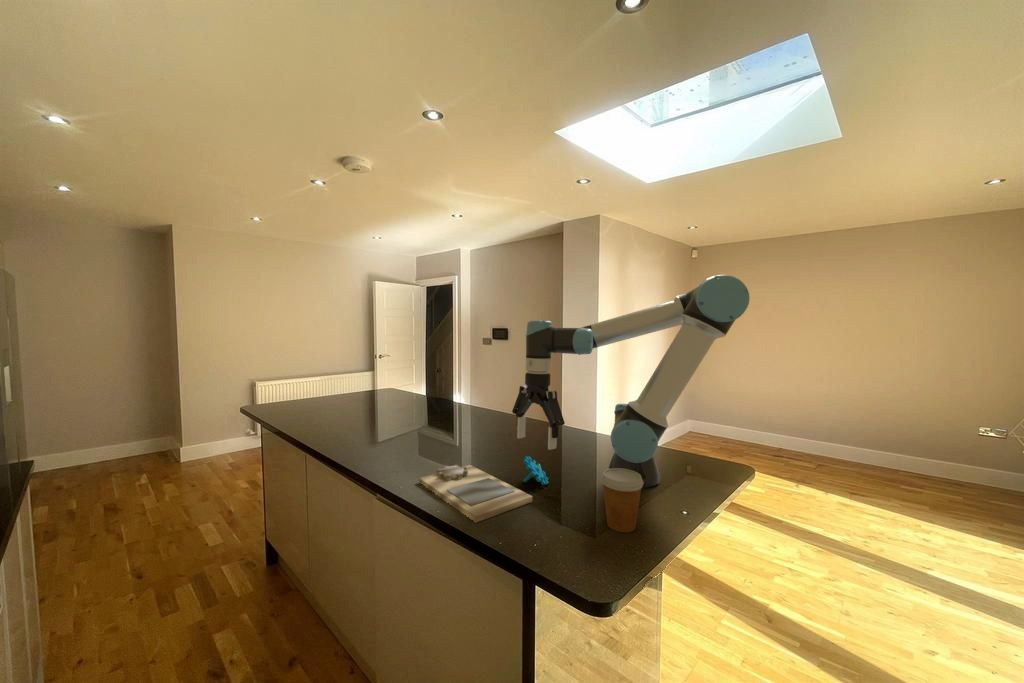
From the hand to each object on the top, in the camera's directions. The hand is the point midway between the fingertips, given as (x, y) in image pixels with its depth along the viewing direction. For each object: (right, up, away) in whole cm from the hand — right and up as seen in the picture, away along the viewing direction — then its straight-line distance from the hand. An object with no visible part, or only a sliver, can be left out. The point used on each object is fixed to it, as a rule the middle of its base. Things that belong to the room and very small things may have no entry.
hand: (536, 443), depth 113 cm
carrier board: (-18, -12, -7) cm, 23 cm away
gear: (0, -12, 0) cm, 12 cm away
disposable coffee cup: (+18, -13, -25) cm, 34 cm away
